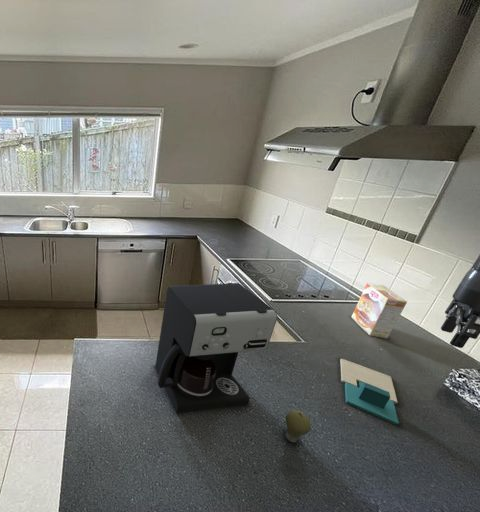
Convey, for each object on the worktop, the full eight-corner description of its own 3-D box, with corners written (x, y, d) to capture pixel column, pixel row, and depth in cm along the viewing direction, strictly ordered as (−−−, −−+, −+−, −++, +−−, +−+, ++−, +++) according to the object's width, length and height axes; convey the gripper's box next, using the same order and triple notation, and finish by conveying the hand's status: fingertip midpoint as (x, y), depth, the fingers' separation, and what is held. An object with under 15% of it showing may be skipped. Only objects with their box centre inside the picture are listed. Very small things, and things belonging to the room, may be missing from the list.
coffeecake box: (349, 317, 137) (366, 282, 130) (367, 320, 135) (384, 285, 128) (368, 336, 124) (387, 298, 116) (387, 339, 122) (408, 301, 114)
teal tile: (389, 397, 93) (398, 382, 91) (396, 426, 83) (406, 411, 81) (343, 378, 100) (350, 364, 98) (345, 404, 90) (353, 389, 88)
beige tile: (389, 379, 101) (390, 376, 100) (395, 405, 90) (397, 402, 90) (339, 361, 108) (341, 358, 108) (340, 383, 98) (342, 380, 98)
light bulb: (274, 434, 80) (284, 409, 76) (286, 427, 82) (297, 403, 78) (293, 453, 75) (305, 427, 71) (306, 445, 77) (318, 420, 73)
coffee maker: (164, 418, 83) (182, 320, 70) (143, 369, 101) (155, 283, 87) (248, 408, 87) (281, 314, 74) (215, 362, 105) (236, 280, 92)
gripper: (520, 304, 65) (481, 358, 71) (494, 282, 75) (461, 331, 82) (471, 293, 69) (438, 345, 75) (452, 274, 80) (424, 321, 86)
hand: (450, 338), depth 78 cm, fingers open, 8 cm apart
